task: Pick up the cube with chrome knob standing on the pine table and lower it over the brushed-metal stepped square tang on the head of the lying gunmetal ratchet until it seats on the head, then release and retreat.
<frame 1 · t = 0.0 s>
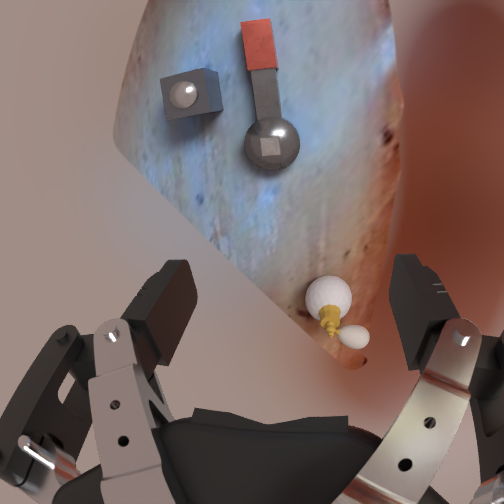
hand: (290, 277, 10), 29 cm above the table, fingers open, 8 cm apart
perfume bottle: (333, 284, 46), on the table
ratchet: (273, 141, 35), on the table
cube with chrome knob: (200, 94, 33), on the table
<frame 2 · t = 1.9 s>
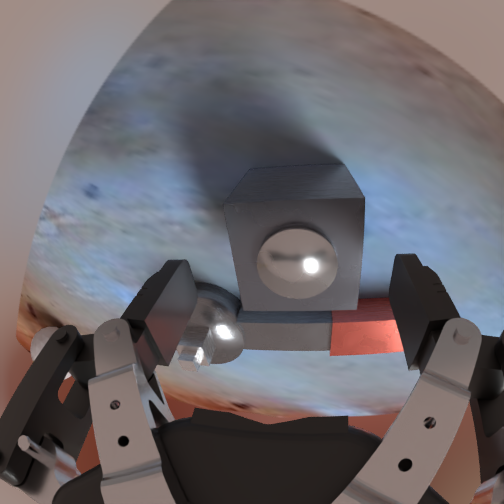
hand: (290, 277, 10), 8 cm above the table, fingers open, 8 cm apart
perfume bottle: (71, 341, 32), on the table
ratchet: (208, 315, 23), on the table
cube with chrome knob: (300, 209, 17), on the table
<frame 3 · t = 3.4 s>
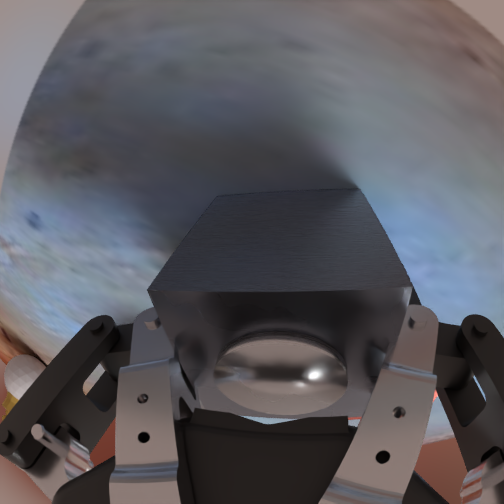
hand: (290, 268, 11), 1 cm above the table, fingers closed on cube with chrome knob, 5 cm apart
perfume bottle: (46, 368, 27), on the table
cube with chrome knob: (292, 254, 12), on the table, touching gripper
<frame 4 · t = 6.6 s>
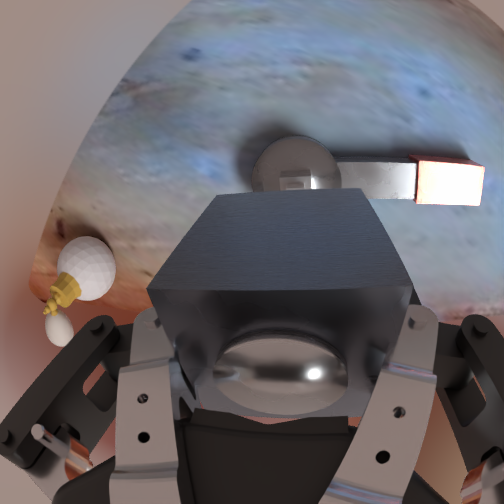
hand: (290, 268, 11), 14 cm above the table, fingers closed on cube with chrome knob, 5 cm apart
perfume bottle: (105, 260, 32), on the table
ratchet: (297, 175, 23), on the table
cube with chrome knob: (292, 253, 12), point 13 cm above the table, touching gripper
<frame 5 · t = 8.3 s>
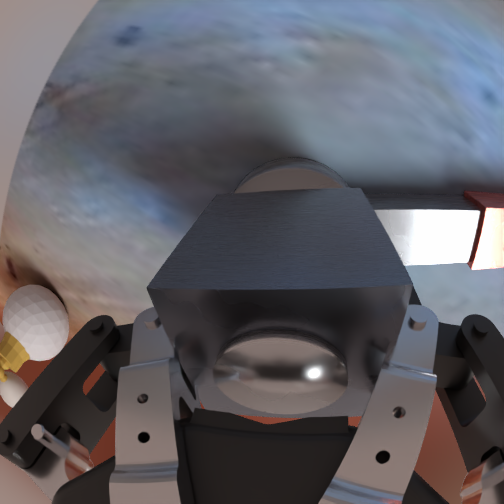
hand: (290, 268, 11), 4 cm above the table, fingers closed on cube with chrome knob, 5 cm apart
perfume bottle: (59, 308, 24), on the table
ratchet: (294, 222, 15), on the table
cube with chrome knob: (292, 253, 12), point 3 cm above the table, touching gripper
when the fingers open (4 cm above the table, at t = 9.6 s): cube with chrome knob stays where it is, resting on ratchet.
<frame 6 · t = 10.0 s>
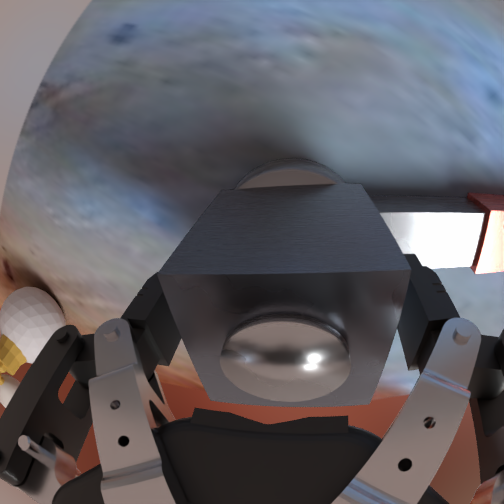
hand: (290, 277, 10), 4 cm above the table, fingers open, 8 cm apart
perfume bottle: (56, 310, 23), on the table
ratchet: (293, 225, 14), on the table, touching cube with chrome knob
cube with chrome knob: (294, 247, 12), point 2 cm above the table, touching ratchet
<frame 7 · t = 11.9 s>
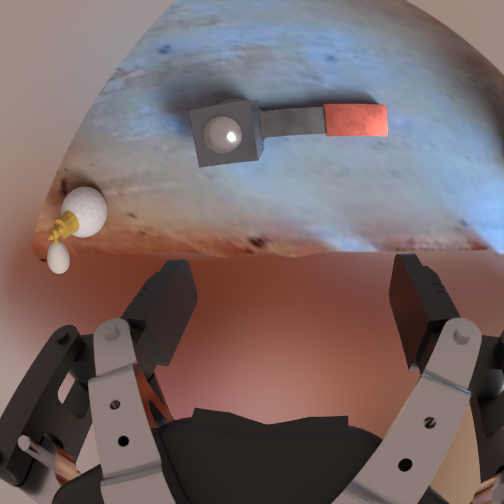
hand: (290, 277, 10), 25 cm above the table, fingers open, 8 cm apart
perfume bottle: (99, 208, 39), on the table
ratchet: (238, 126, 31), on the table, touching cube with chrome knob
cube with chrome knob: (235, 127, 28), point 2 cm above the table, touching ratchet
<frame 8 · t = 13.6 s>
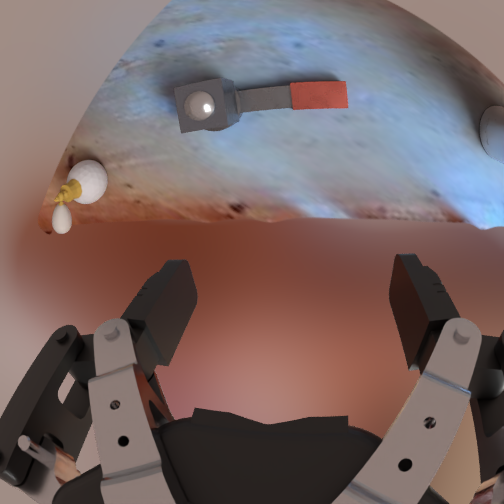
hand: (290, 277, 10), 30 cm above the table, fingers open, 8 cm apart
perfume bottle: (100, 180, 43), on the table
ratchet: (219, 105, 35), on the table, touching cube with chrome knob
cube with chrome knob: (215, 104, 32), point 2 cm above the table, touching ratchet
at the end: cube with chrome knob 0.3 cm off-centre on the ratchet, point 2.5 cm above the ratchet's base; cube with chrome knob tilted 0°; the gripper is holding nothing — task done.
